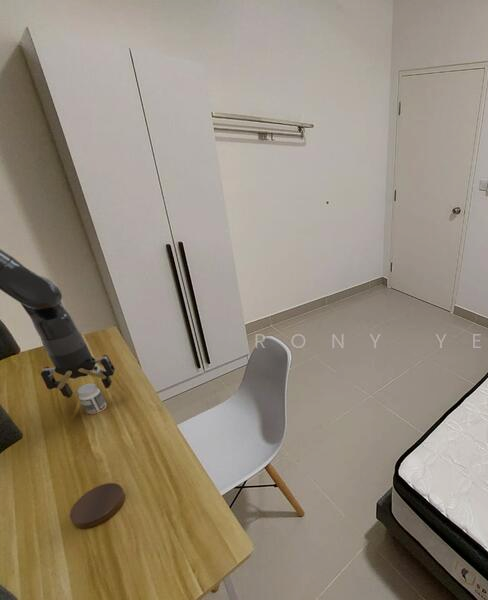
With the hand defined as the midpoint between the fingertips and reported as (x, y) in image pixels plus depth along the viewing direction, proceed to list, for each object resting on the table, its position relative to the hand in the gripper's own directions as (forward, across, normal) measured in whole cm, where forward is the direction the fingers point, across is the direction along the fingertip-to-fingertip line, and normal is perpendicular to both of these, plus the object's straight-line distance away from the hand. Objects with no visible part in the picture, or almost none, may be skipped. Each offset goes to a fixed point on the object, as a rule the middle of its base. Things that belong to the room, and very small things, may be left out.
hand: (89, 391), depth 96 cm
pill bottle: (+7, 0, 0) cm, 7 cm away
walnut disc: (+7, -7, +36) cm, 37 cm away
